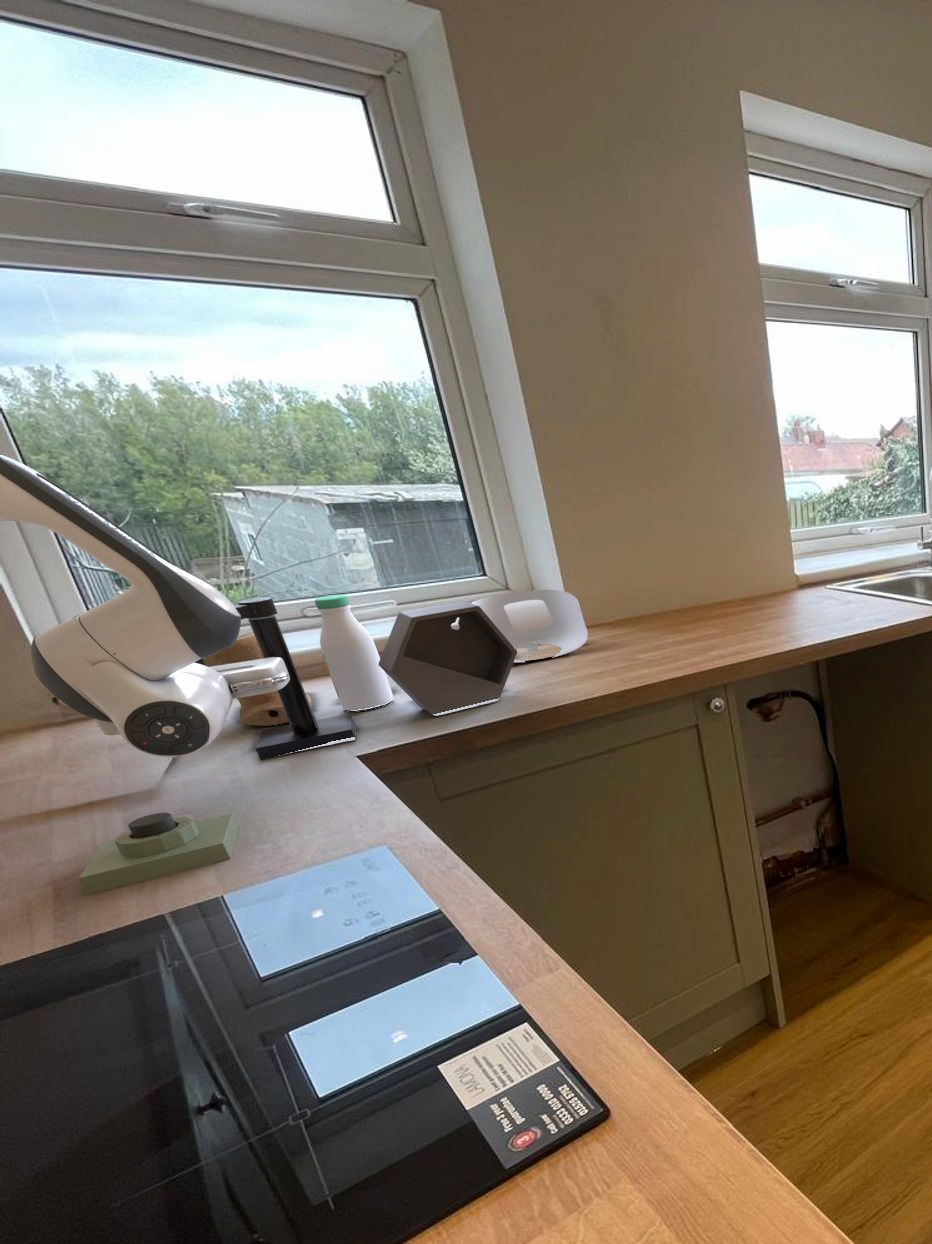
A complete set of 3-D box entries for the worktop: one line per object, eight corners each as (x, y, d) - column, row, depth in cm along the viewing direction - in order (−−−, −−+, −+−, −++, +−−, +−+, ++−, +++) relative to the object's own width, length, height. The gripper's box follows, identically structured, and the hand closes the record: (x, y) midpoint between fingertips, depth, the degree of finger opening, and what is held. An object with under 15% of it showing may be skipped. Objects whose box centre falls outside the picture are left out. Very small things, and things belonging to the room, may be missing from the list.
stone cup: (232, 715, 146) (196, 634, 140) (315, 700, 152) (284, 621, 147) (224, 738, 135) (186, 651, 129) (314, 720, 141) (282, 637, 135)
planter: (378, 703, 134) (424, 586, 135) (366, 694, 138) (410, 581, 139) (487, 730, 147) (528, 623, 148) (473, 721, 152) (513, 618, 153)
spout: (283, 668, 129) (255, 597, 125) (306, 668, 129) (278, 596, 124) (185, 700, 115) (149, 621, 111) (210, 700, 115) (175, 621, 110)
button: (131, 843, 92) (124, 829, 92) (137, 831, 95) (131, 818, 94) (174, 833, 94) (167, 820, 94) (179, 822, 97) (172, 809, 96)
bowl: (570, 636, 192) (558, 586, 187) (593, 650, 178) (581, 597, 174) (474, 653, 180) (458, 600, 176) (491, 670, 166) (474, 614, 162)
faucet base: (260, 760, 125) (204, 630, 117) (265, 741, 132) (213, 618, 124) (355, 740, 131) (309, 616, 123) (355, 724, 139) (312, 606, 131)
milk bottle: (405, 699, 150) (368, 592, 143) (365, 714, 144) (324, 602, 136) (373, 697, 152) (335, 591, 145) (332, 711, 146) (290, 601, 138)
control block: (87, 895, 89) (70, 863, 88) (108, 859, 97) (92, 830, 95) (230, 859, 96) (216, 829, 94) (239, 828, 103) (227, 800, 101)
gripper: (278, 658, 110) (282, 639, 120) (63, 691, 99) (88, 667, 109) (296, 701, 112) (298, 679, 123) (87, 739, 101) (109, 711, 111)
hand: (198, 674), depth 116 cm, fingers closed on spout, 3 cm apart
